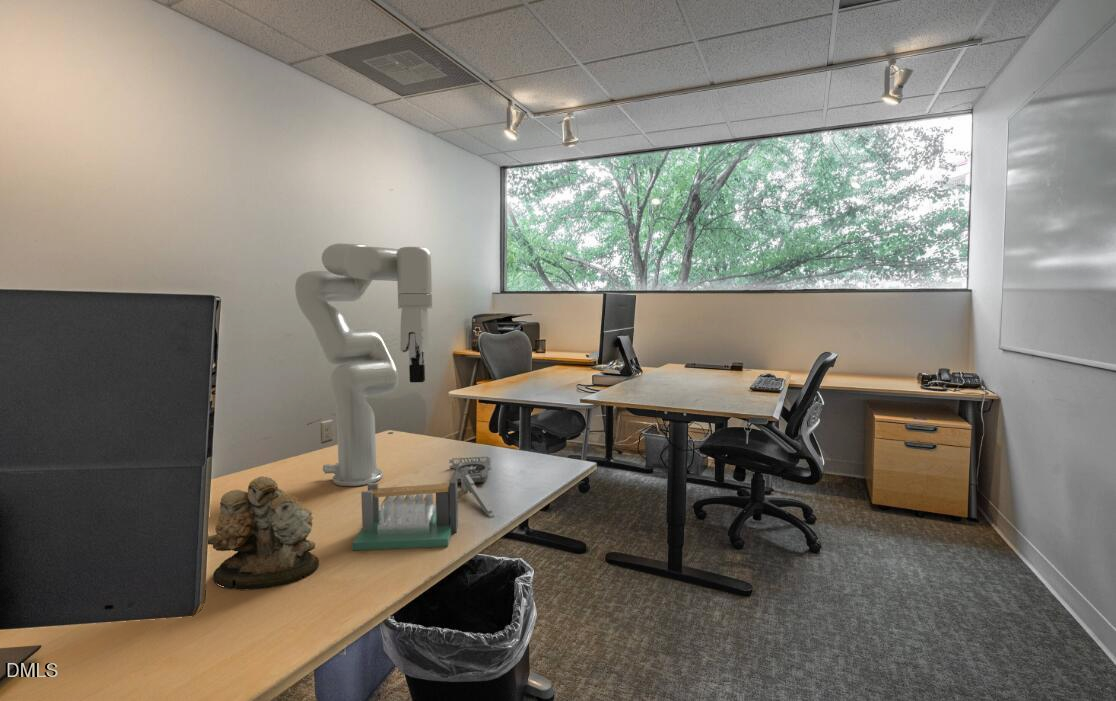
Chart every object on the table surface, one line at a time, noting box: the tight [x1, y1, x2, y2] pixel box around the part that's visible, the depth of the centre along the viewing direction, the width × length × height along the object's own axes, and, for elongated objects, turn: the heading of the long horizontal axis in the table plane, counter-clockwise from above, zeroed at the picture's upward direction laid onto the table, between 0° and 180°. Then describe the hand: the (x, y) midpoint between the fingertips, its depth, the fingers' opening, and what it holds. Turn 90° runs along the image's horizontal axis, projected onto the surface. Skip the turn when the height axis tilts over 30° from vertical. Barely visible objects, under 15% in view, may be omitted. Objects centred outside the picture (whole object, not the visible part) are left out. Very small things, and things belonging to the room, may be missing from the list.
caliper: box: [460, 467, 495, 518], centre depth 125 cm, size 20×1×6 cm, turn 28°
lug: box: [435, 476, 459, 534], centre depth 110 cm, size 4×4×10 cm
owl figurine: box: [207, 476, 320, 590], centre depth 92 cm, size 18×12×17 cm, turn 99°
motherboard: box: [351, 482, 452, 551], centre depth 109 cm, size 18×16×10 cm
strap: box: [367, 482, 450, 498], centre depth 109 cm, size 17×3×1 cm, turn 95°
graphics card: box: [448, 456, 492, 484], centre depth 145 cm, size 17×4×12 cm
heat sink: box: [377, 493, 436, 535], centre depth 110 cm, size 10×10×6 cm
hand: (417, 381), depth 122 cm, fingers closed
